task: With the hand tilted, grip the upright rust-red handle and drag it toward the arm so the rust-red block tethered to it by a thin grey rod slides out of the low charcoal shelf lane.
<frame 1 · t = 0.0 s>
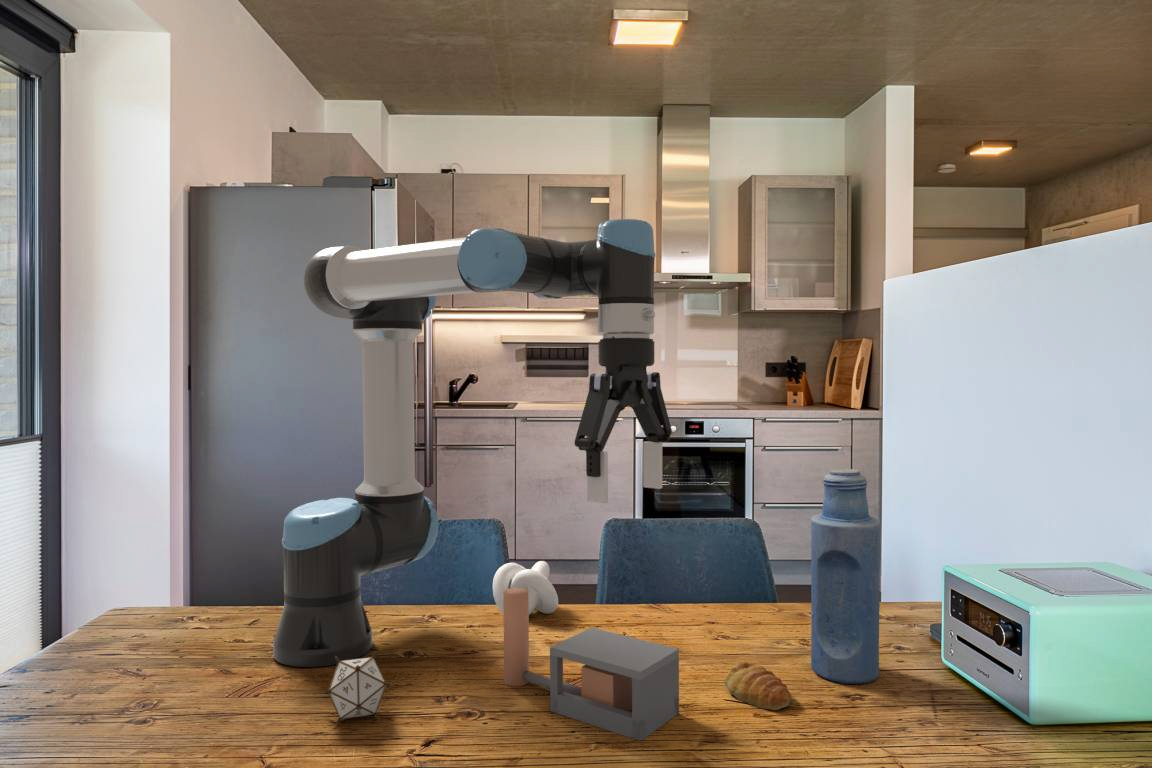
hand: (626, 494, 107), 28 cm above the table, tool pointing down, fingers open, 13 cm apart
pastry: (758, 698, 109), on the table
white knot: (528, 613, 145), on the table
bottle: (844, 673, 117), on the table
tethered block: (516, 681, 114), on the table
game die: (357, 719, 102), on the table
shelf lane: (614, 712, 104), on the table
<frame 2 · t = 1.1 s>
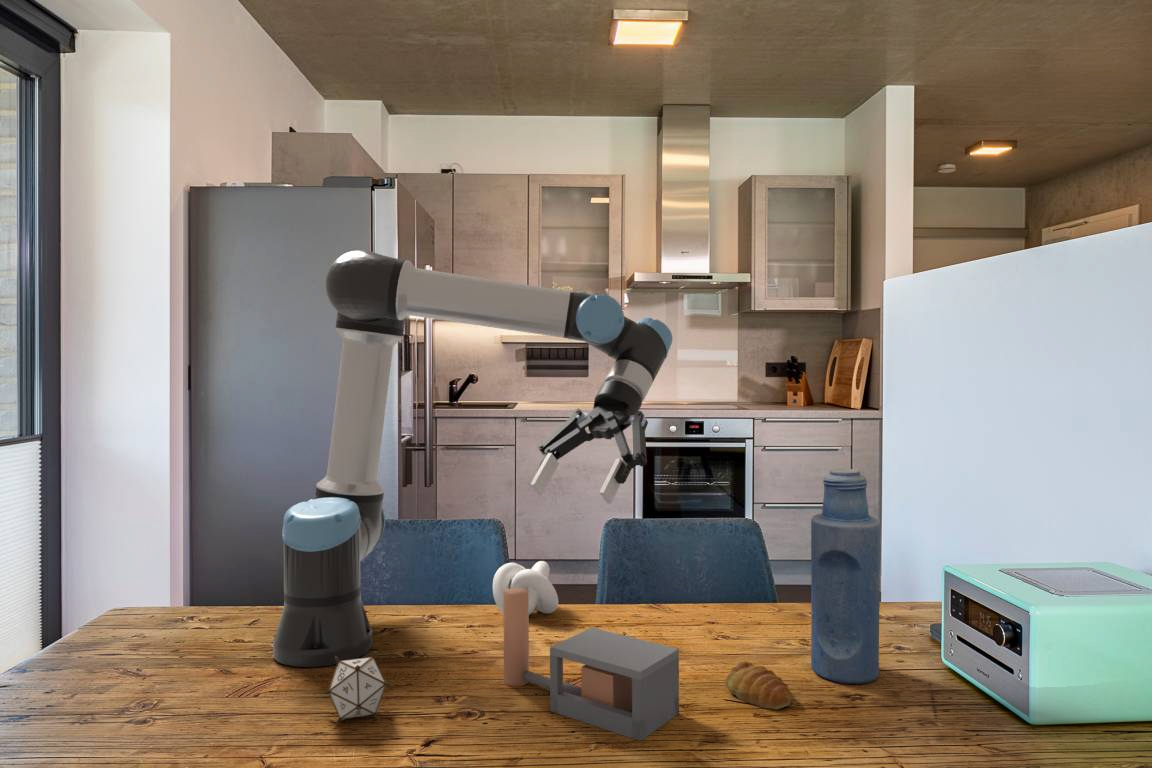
hand: (569, 493, 123), 25 cm above the table, tool tilted 45°, fingers open, 13 cm apart
nothing on the table moved.
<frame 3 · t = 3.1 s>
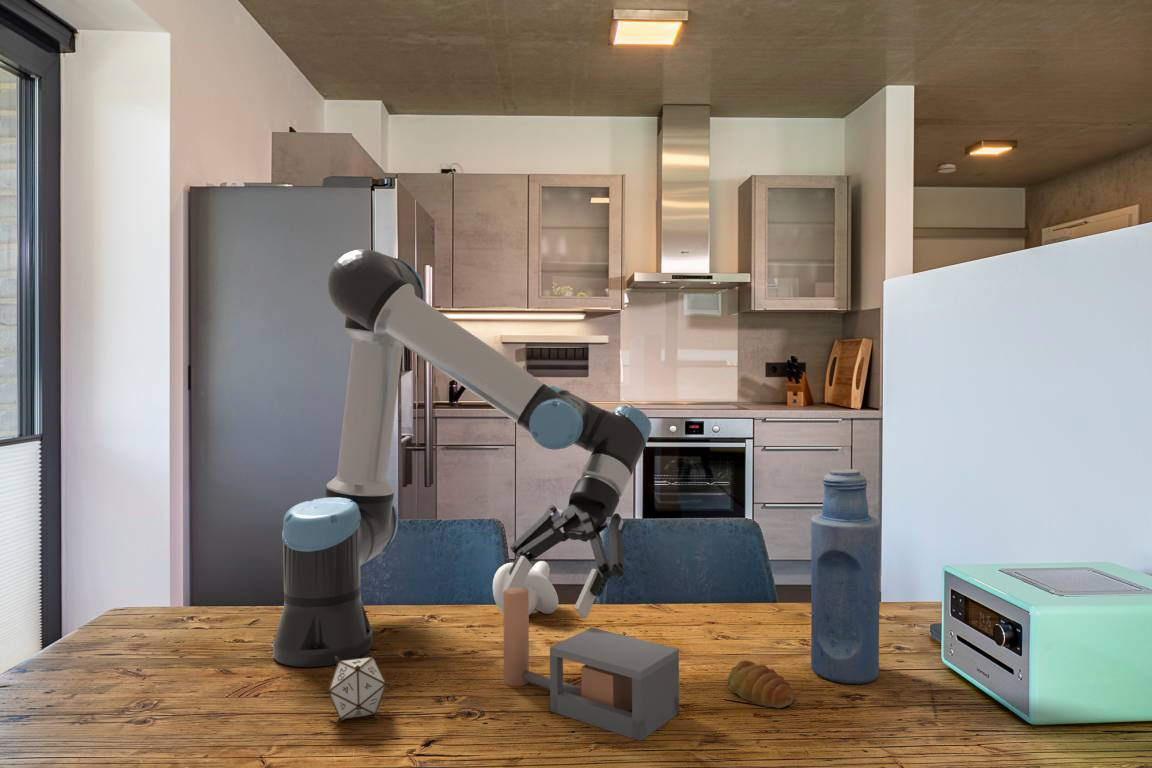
hand: (542, 605, 116), 10 cm above the table, tool tilted 45°, fingers open, 13 cm apart
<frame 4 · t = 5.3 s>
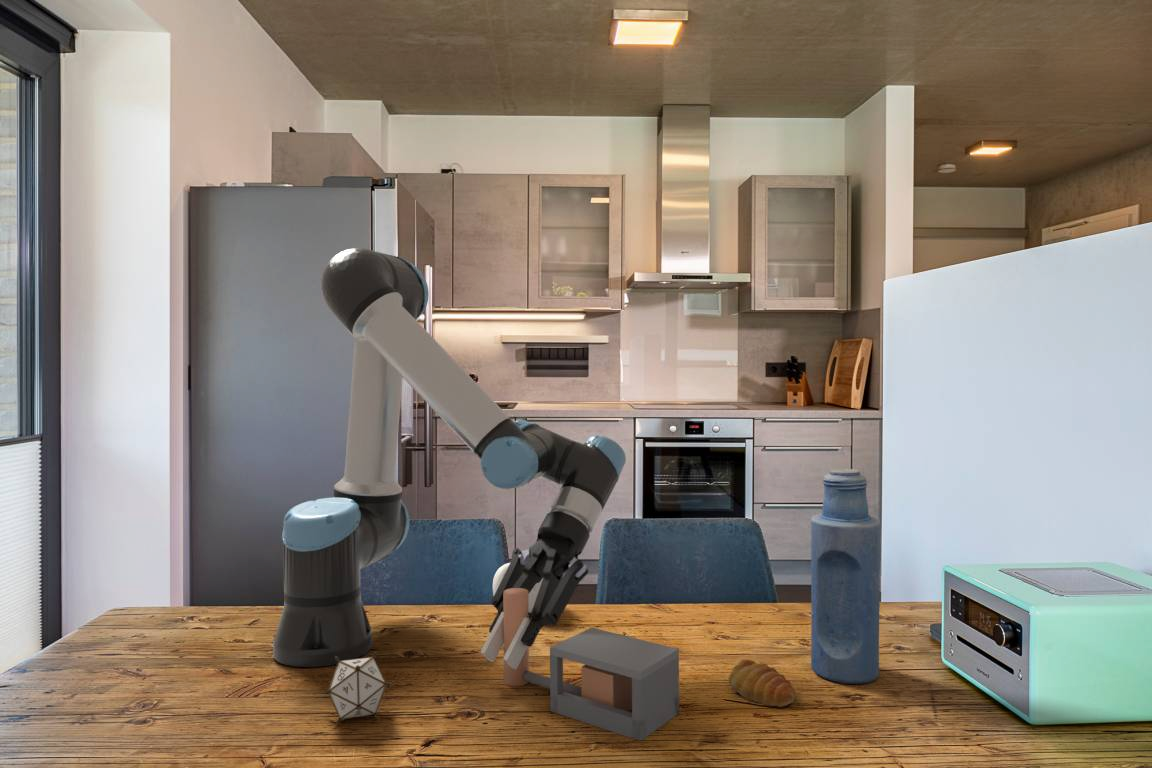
hand: (498, 660, 111), 4 cm above the table, tool tilted 45°, fingers closed on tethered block, 4 cm apart
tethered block: (516, 681, 114), on the table, touching gripper
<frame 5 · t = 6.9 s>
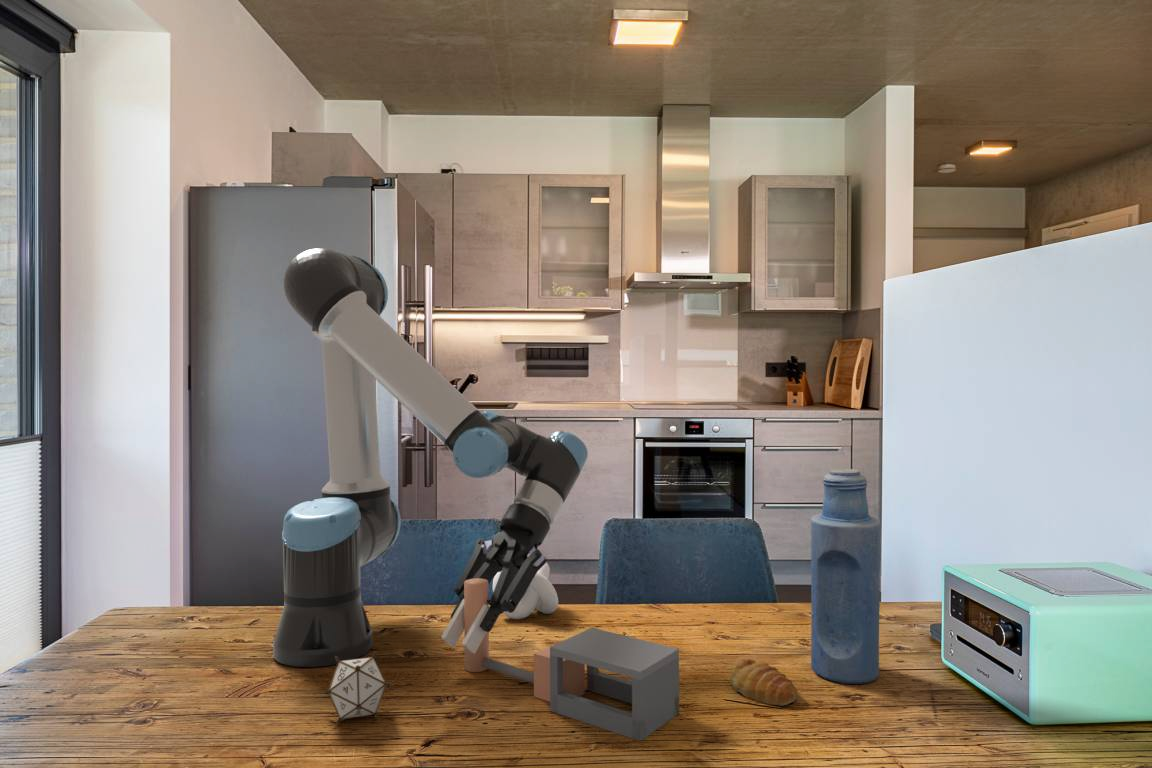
hand: (457, 645, 116), 5 cm above the table, tool tilted 45°, fingers closed on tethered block, 4 cm apart
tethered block: (476, 667, 119), on the table, touching gripper
when the fingers open (5 cm above the table, at t = 8.5 s): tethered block stays where it is, on the table.
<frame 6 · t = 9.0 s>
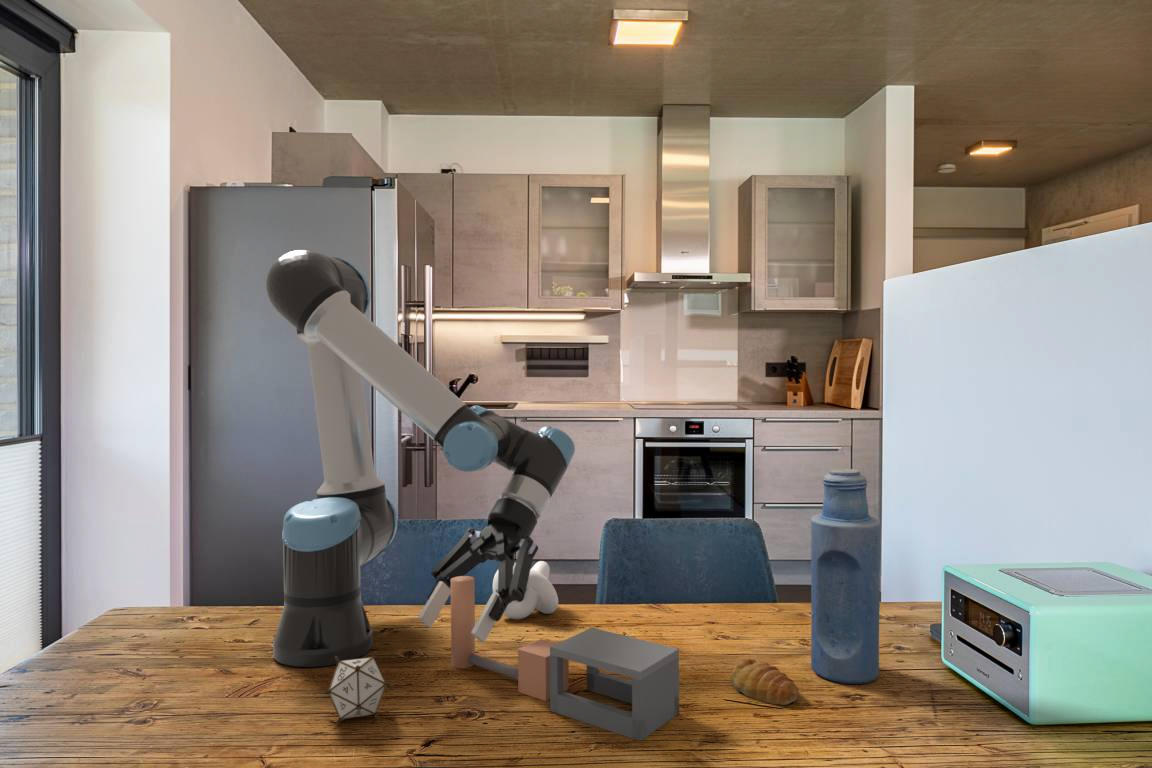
hand: (450, 630, 118), 6 cm above the table, tool tilted 45°, fingers open, 10 cm apart
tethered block: (463, 663, 120), on the table
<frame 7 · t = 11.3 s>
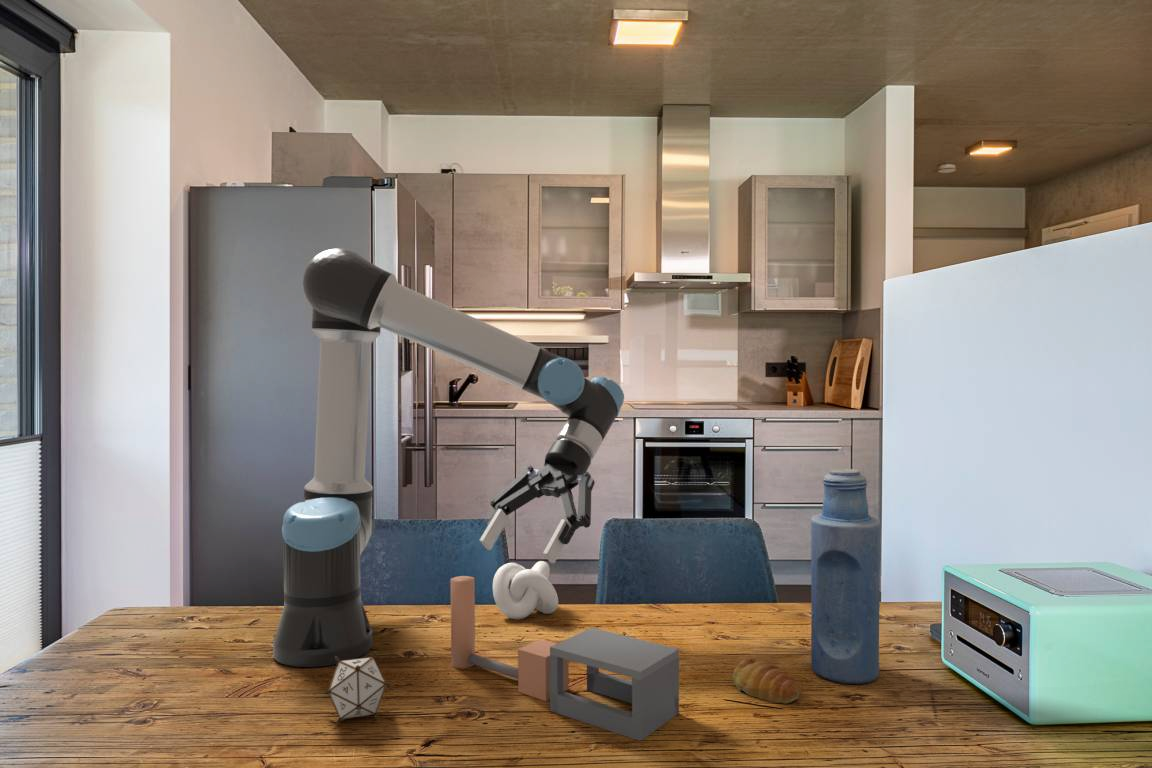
hand: (515, 551, 128), 15 cm above the table, tool tilted 45°, fingers open, 13 cm apart
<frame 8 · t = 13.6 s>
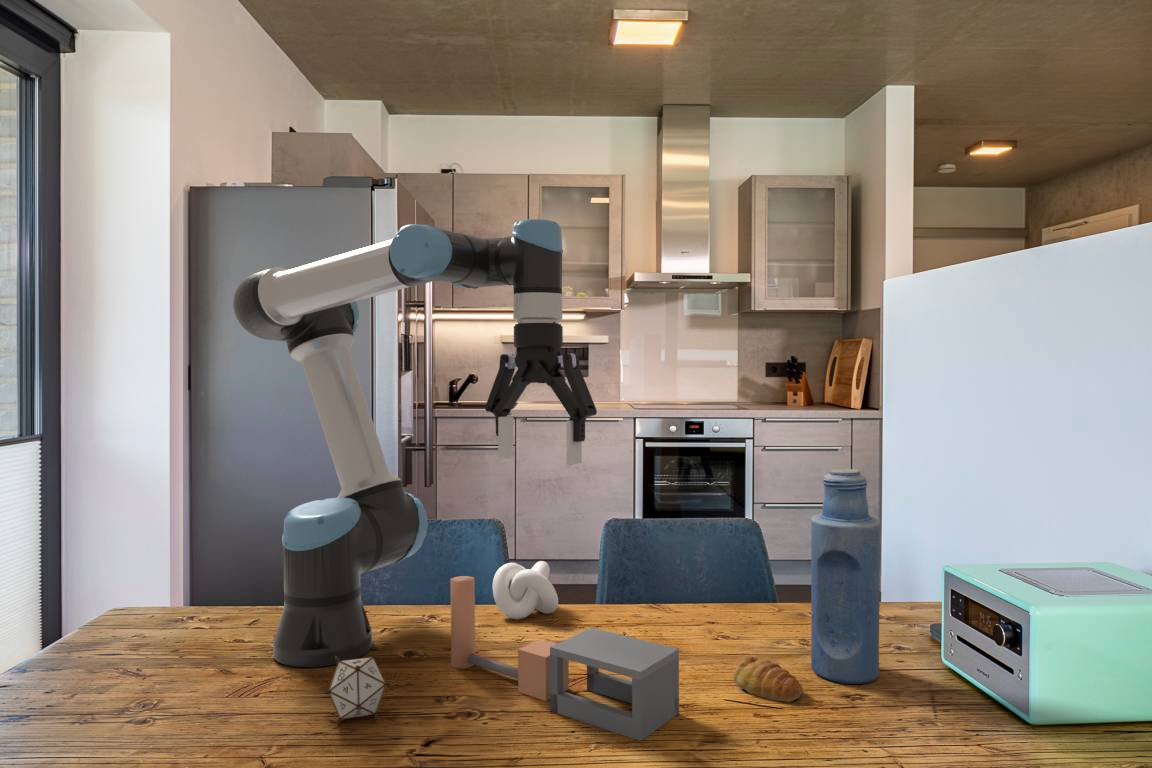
hand: (538, 460, 122), 31 cm above the table, tool pointing down, fingers open, 13 cm apart
at the end: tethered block inside the target area (1.7 cm from its centre), on the table; the gripper is holding nothing; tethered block tilted 0° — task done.
